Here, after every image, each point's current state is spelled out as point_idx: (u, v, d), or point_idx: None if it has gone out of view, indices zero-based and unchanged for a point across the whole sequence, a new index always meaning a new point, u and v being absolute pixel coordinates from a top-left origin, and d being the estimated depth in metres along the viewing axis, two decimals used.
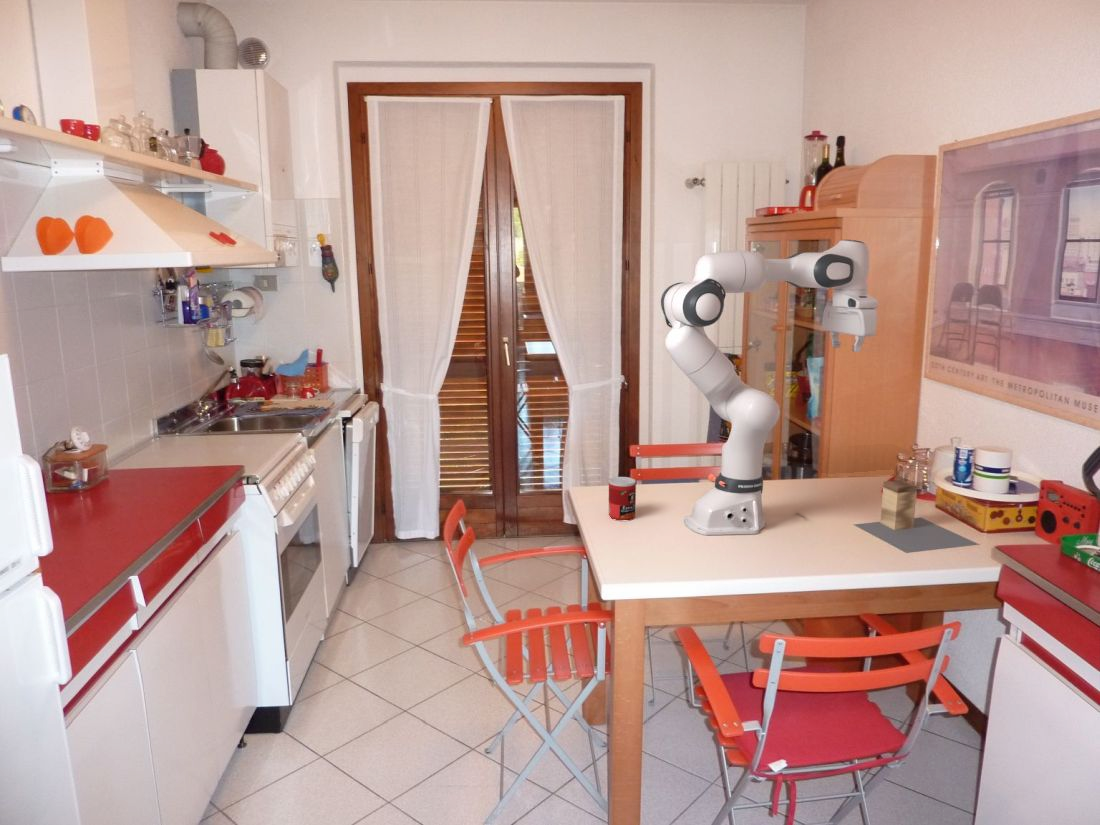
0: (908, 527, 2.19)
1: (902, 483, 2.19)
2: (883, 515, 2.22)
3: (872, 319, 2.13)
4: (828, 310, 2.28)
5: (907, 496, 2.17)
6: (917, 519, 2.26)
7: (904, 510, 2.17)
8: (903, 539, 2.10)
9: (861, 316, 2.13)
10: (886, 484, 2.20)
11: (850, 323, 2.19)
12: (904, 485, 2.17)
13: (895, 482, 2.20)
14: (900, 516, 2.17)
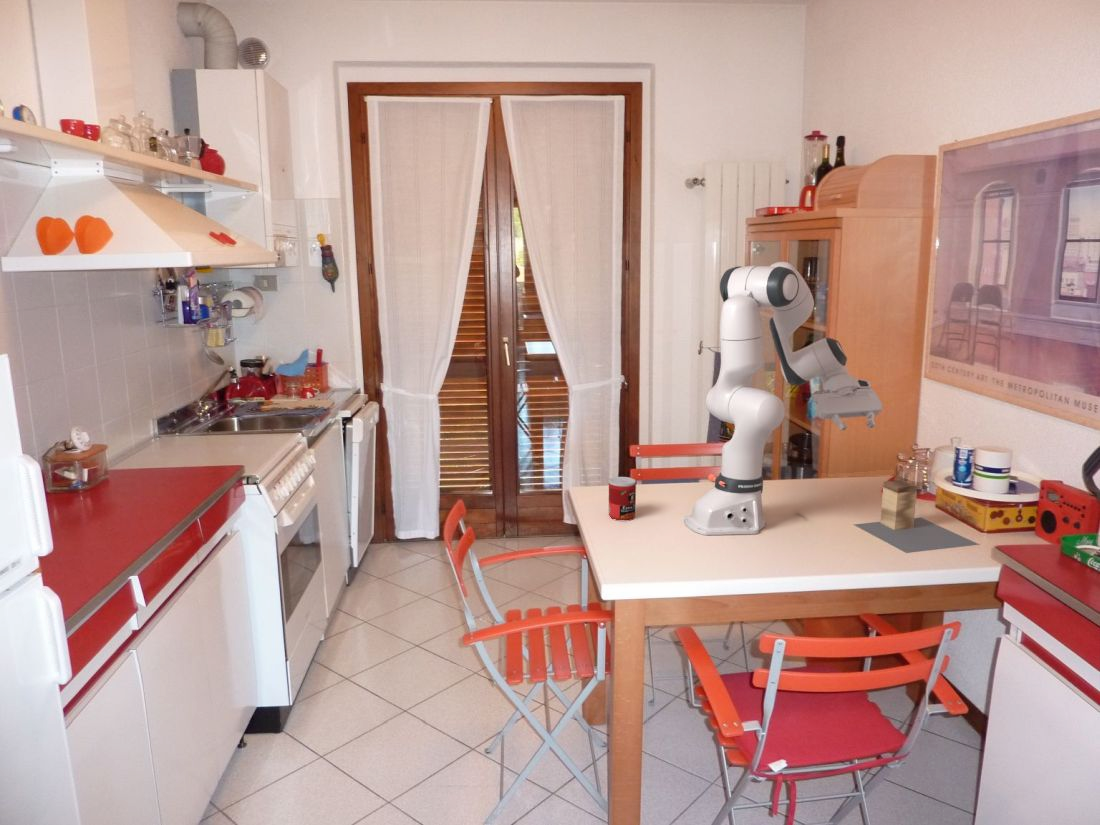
0: (908, 527, 2.19)
1: (902, 483, 2.19)
2: (883, 515, 2.22)
3: None
4: (826, 396, 2.38)
5: (907, 496, 2.17)
6: (917, 519, 2.26)
7: (904, 510, 2.17)
8: (903, 539, 2.10)
9: (875, 393, 2.41)
10: (886, 484, 2.20)
11: (861, 402, 2.39)
12: (904, 485, 2.17)
13: (895, 482, 2.20)
14: (900, 516, 2.17)
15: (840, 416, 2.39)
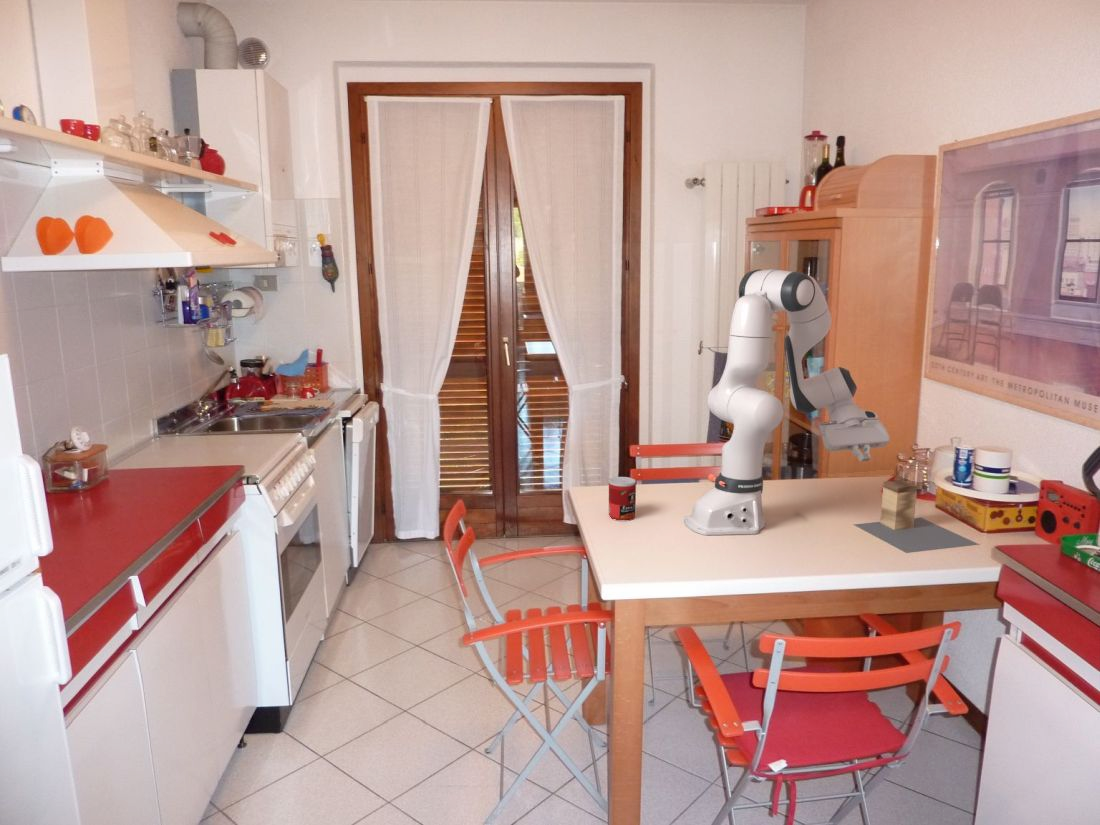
0: (908, 527, 2.19)
1: (902, 483, 2.19)
2: (883, 515, 2.22)
3: None
4: (833, 427, 2.36)
5: (907, 496, 2.17)
6: (917, 519, 2.26)
7: (904, 510, 2.17)
8: (903, 539, 2.10)
9: (882, 424, 2.39)
10: (886, 484, 2.20)
11: (868, 433, 2.37)
12: (904, 485, 2.17)
13: (895, 482, 2.20)
14: (900, 516, 2.17)
15: (847, 448, 2.36)
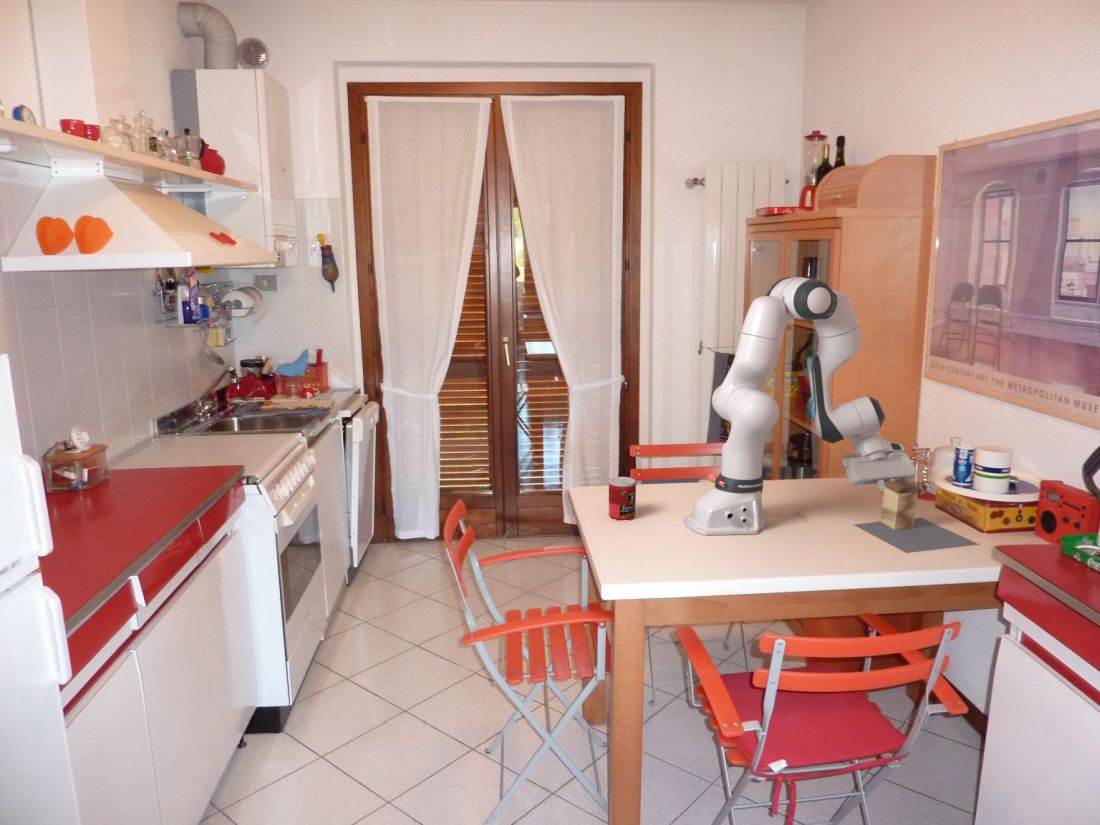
0: (908, 527, 2.19)
1: (903, 483, 2.19)
2: (883, 515, 2.22)
3: None
4: (857, 460, 2.25)
5: (908, 497, 2.16)
6: (917, 519, 2.26)
7: (905, 510, 2.17)
8: (903, 539, 2.10)
9: (908, 457, 2.28)
10: (888, 484, 2.19)
11: (894, 467, 2.26)
12: (906, 486, 2.17)
13: (897, 482, 2.19)
14: (901, 516, 2.17)
15: (872, 482, 2.26)
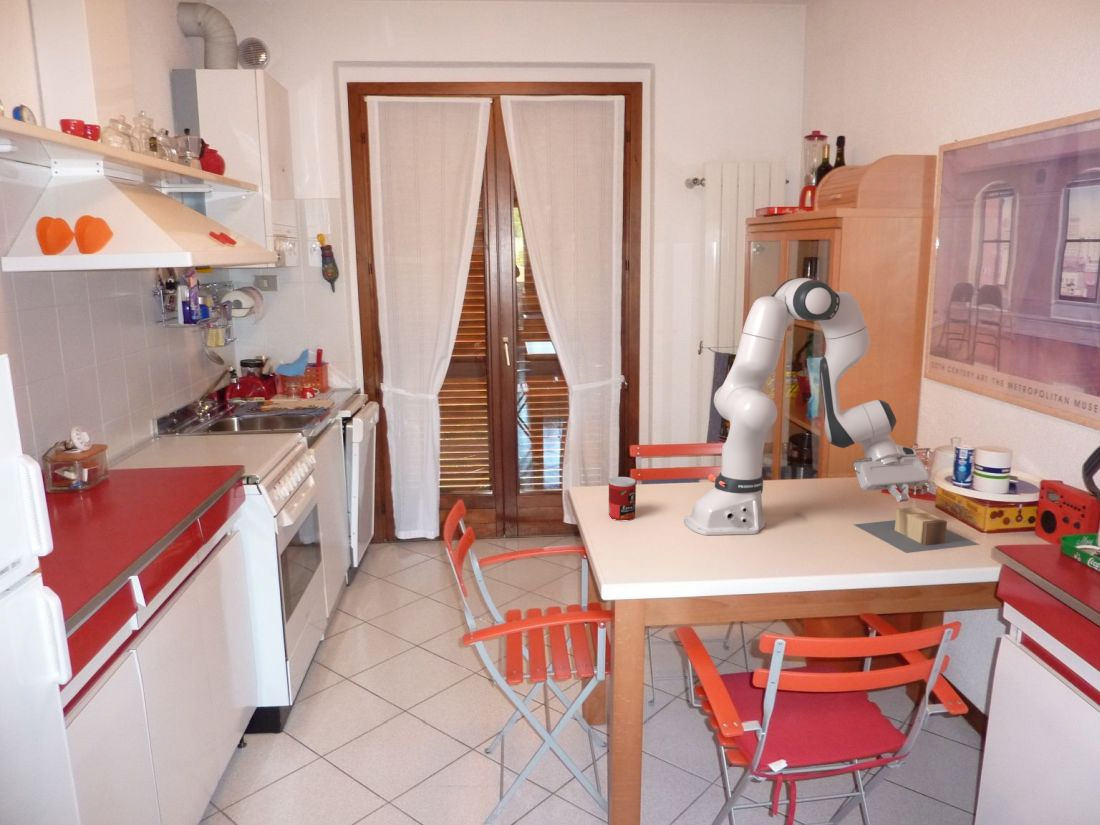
0: None
1: (938, 532, 2.07)
2: (902, 515, 2.14)
3: None
4: (869, 465, 2.20)
5: None
6: None
7: None
8: (903, 539, 2.10)
9: (921, 462, 2.23)
10: (925, 527, 2.06)
11: (906, 471, 2.21)
12: (935, 539, 2.07)
13: (935, 528, 2.06)
14: None
15: (884, 487, 2.21)
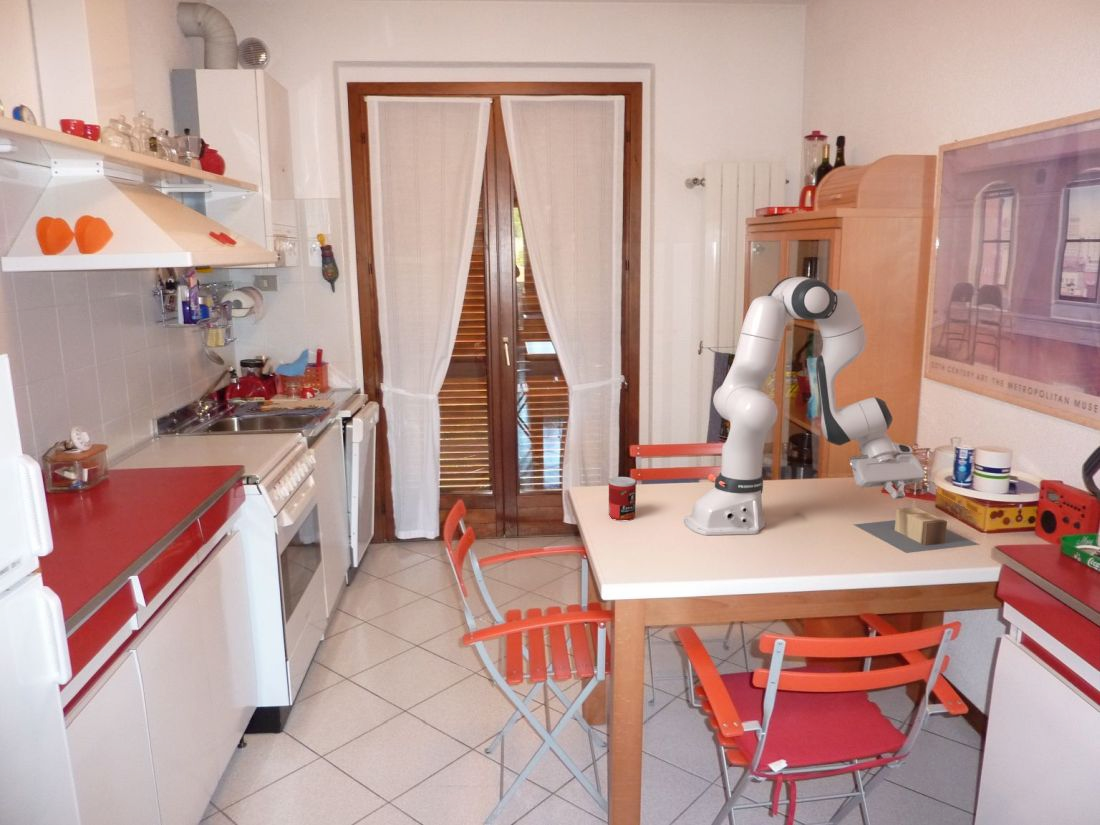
0: None
1: (938, 532, 2.07)
2: (902, 515, 2.14)
3: None
4: (865, 462, 2.22)
5: None
6: None
7: None
8: (903, 539, 2.10)
9: (917, 459, 2.25)
10: (925, 527, 2.06)
11: (902, 469, 2.23)
12: (935, 539, 2.07)
13: (935, 528, 2.06)
14: None
15: (880, 484, 2.22)
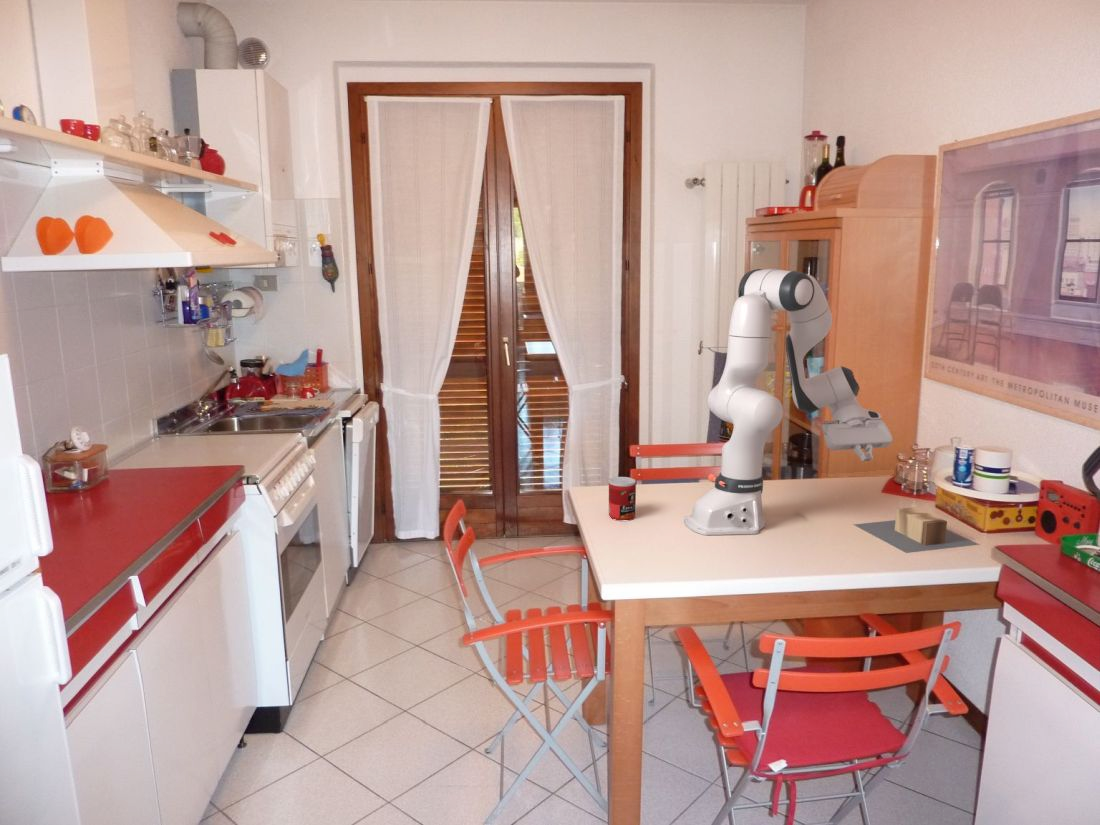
0: None
1: (938, 532, 2.07)
2: (902, 515, 2.14)
3: None
4: (835, 427, 2.34)
5: None
6: None
7: None
8: (903, 539, 2.10)
9: (885, 425, 2.37)
10: (925, 527, 2.06)
11: (871, 433, 2.35)
12: (935, 539, 2.07)
13: (935, 528, 2.06)
14: None
15: (850, 447, 2.35)
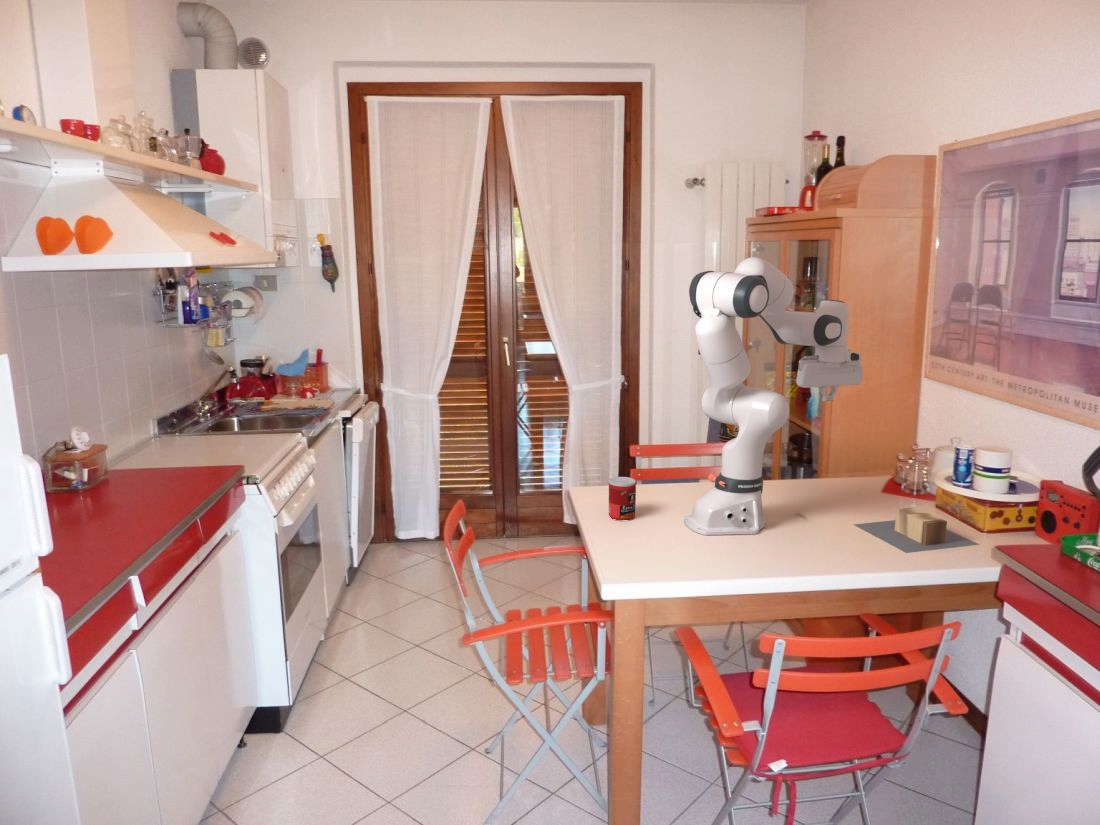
0: None
1: (938, 532, 2.07)
2: (902, 515, 2.14)
3: None
4: (812, 367, 2.34)
5: None
6: None
7: None
8: (903, 539, 2.10)
9: (861, 367, 2.37)
10: (925, 527, 2.06)
11: (843, 375, 2.37)
12: (935, 539, 2.07)
13: (935, 528, 2.06)
14: None
15: None
